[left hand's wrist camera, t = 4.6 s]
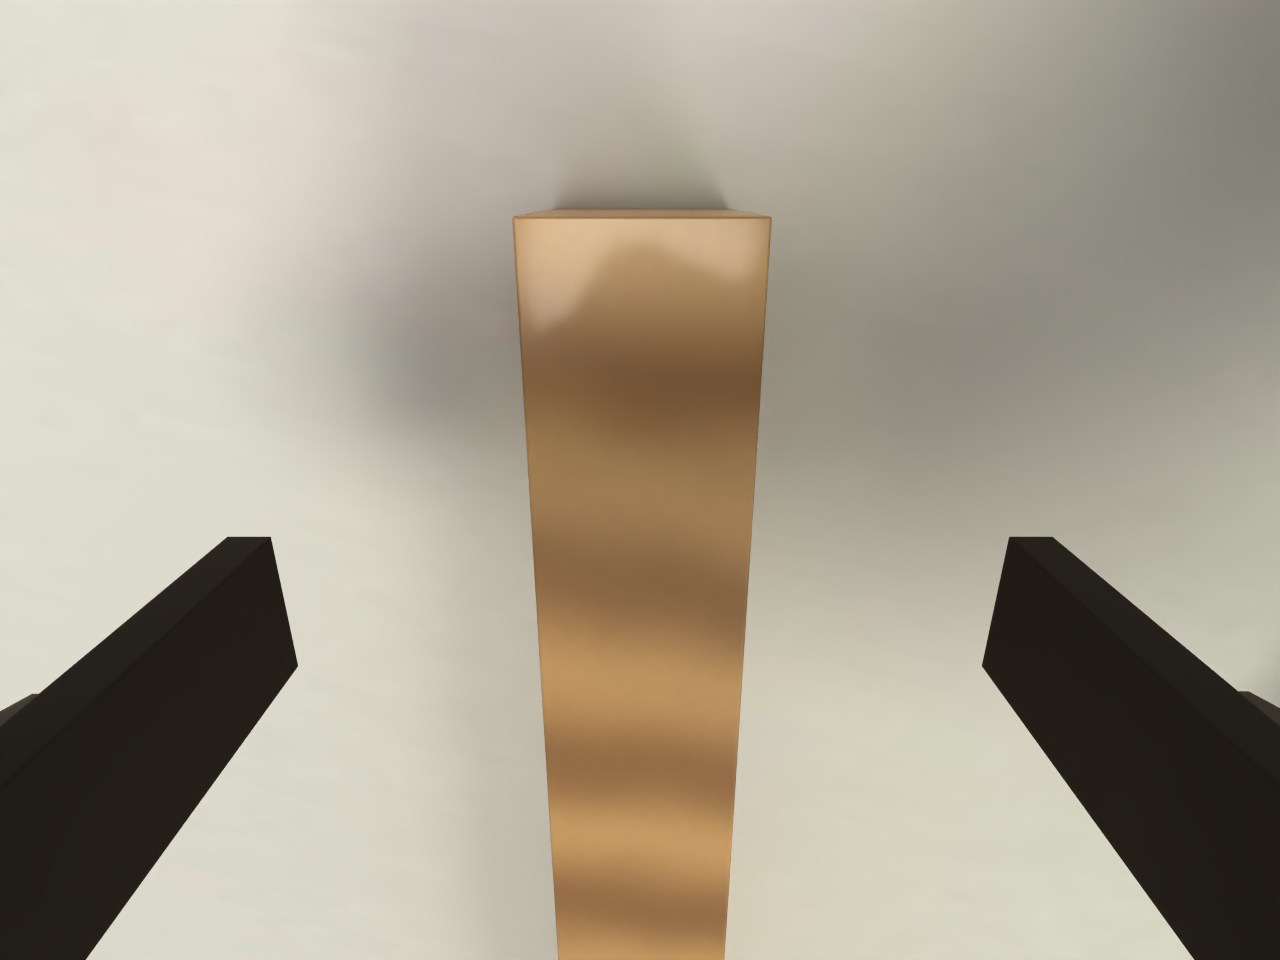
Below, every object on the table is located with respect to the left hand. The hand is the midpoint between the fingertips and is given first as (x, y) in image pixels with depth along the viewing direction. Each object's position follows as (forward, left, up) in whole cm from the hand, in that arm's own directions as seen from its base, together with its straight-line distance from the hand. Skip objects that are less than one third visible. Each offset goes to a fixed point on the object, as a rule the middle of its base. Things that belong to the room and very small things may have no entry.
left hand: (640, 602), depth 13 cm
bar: (+10, +30, -12) cm, 34 cm away
